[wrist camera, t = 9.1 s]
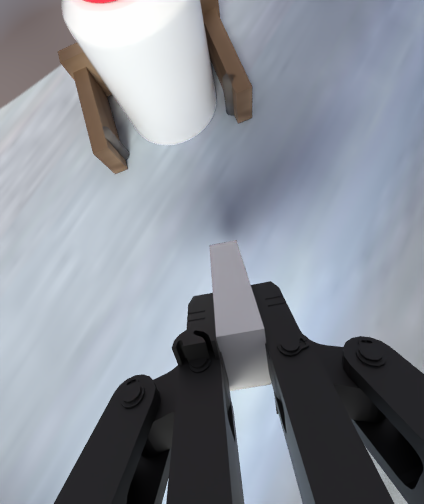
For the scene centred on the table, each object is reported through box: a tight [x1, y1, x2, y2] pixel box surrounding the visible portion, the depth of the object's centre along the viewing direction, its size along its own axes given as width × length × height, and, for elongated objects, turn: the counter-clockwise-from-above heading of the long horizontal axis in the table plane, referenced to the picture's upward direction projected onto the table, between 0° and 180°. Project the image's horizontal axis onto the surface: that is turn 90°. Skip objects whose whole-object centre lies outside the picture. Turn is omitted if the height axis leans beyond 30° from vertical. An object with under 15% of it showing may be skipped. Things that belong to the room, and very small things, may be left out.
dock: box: [58, 0, 252, 174], centre depth 19 cm, size 13×9×4 cm
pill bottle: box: [62, 0, 216, 145], centre depth 16 cm, size 8×8×11 cm
